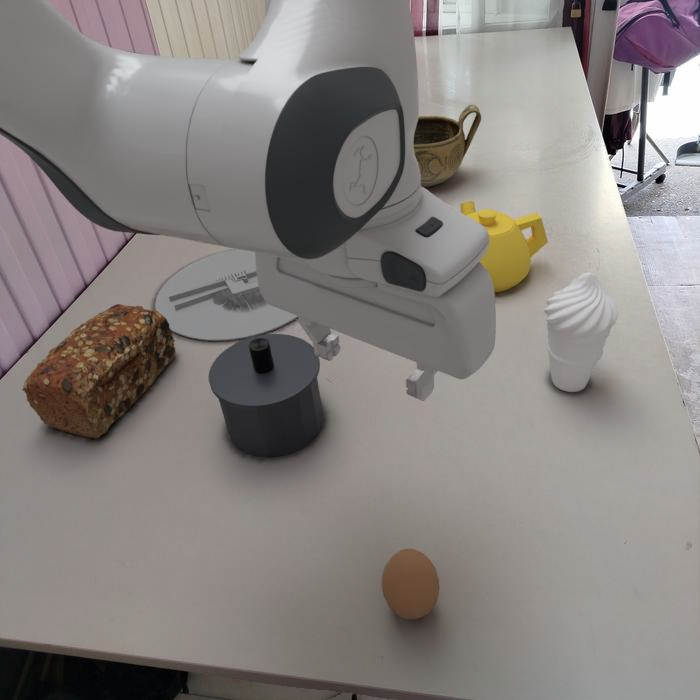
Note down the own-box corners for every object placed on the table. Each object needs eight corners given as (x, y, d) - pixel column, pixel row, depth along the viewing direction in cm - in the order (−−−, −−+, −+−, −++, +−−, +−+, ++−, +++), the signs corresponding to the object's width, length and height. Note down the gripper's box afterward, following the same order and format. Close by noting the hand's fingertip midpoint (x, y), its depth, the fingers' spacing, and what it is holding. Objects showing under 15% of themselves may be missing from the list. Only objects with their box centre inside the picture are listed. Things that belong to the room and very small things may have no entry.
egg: (441, 584, 61) (441, 535, 56) (437, 636, 57) (437, 588, 52) (387, 578, 62) (383, 529, 57) (380, 629, 58) (375, 581, 53)
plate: (292, 234, 120) (291, 228, 120) (348, 307, 100) (347, 301, 99) (144, 274, 113) (142, 268, 113) (171, 362, 93) (169, 356, 92)
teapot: (517, 233, 113) (522, 174, 107) (561, 286, 99) (570, 222, 92) (408, 251, 112) (406, 192, 105) (437, 308, 97) (436, 244, 91)
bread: (102, 445, 80) (74, 386, 74) (38, 427, 84) (6, 370, 78) (183, 355, 94) (165, 299, 87) (125, 344, 97) (103, 289, 91)
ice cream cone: (583, 413, 77) (604, 304, 67) (523, 385, 82) (534, 280, 72) (614, 376, 82) (638, 270, 72) (555, 353, 87) (569, 250, 77)
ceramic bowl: (371, 201, 129) (365, 127, 120) (373, 167, 142) (368, 99, 133) (482, 194, 127) (485, 118, 117) (473, 161, 140) (476, 91, 131)
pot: (328, 447, 77) (320, 395, 71) (229, 465, 76) (214, 413, 71) (317, 383, 86) (309, 333, 81) (229, 398, 85) (215, 349, 80)
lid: (327, 402, 71) (322, 370, 68) (209, 422, 70) (199, 391, 68) (313, 333, 82) (309, 303, 79) (211, 350, 81) (203, 320, 78)
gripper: (221, 210, 47) (256, 353, 56) (463, 284, 37) (460, 445, 46) (278, 178, 51) (302, 316, 60) (512, 236, 41) (500, 394, 49)
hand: (372, 373), depth 53 cm, fingers open, 8 cm apart
